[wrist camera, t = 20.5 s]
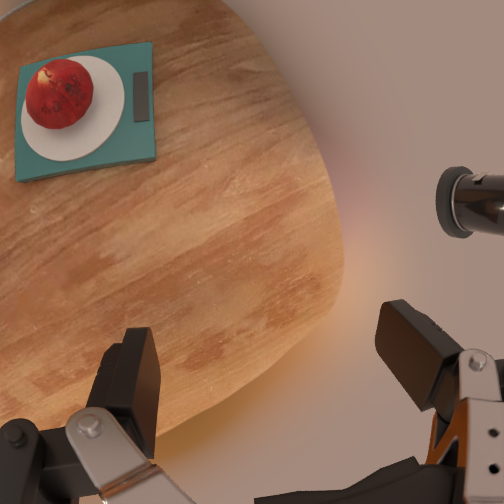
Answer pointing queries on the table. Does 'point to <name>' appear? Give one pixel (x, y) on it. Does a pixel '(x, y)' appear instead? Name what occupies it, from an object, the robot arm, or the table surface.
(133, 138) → the scale
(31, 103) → the onion
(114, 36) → the table surface
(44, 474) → the robot arm
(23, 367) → the table surface
